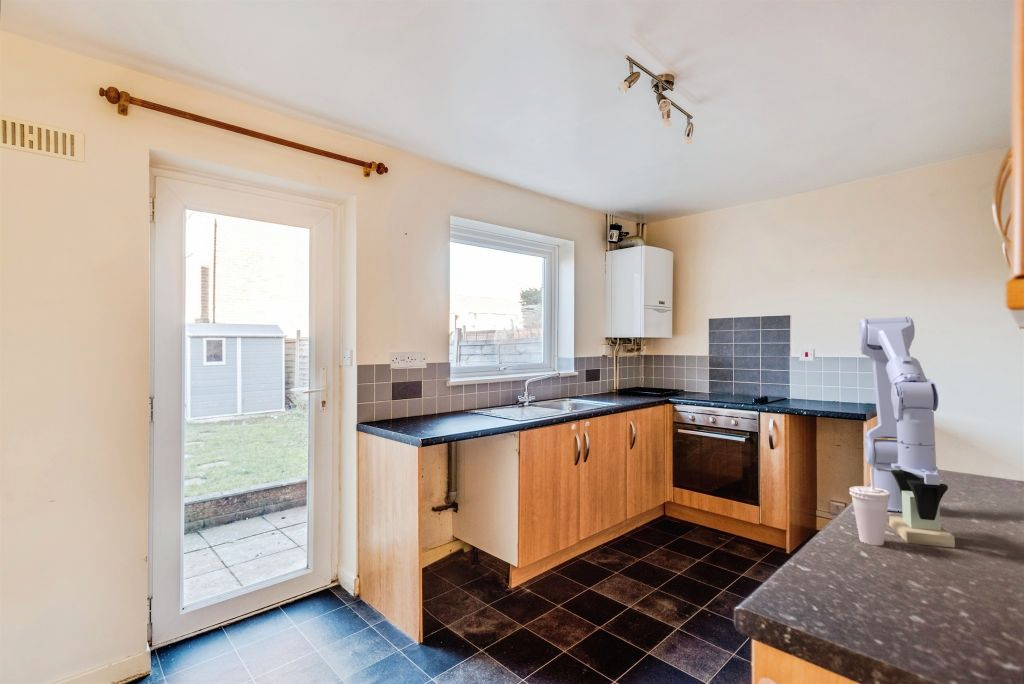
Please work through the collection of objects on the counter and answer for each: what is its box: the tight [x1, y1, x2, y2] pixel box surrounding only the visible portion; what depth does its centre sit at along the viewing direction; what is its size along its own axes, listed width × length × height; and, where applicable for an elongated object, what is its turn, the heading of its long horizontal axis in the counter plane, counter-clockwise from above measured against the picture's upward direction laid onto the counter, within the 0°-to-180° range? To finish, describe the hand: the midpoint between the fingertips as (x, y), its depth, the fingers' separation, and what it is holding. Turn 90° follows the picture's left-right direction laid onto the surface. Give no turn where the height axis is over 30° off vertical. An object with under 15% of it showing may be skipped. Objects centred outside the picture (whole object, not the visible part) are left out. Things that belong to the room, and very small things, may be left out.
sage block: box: [901, 491, 942, 531], centre depth 94 cm, size 4×4×6 cm
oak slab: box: [888, 515, 956, 548], centre depth 94 cm, size 10×7×2 cm
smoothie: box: [849, 466, 891, 546], centre depth 92 cm, size 6×6×14 cm
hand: (919, 513), depth 95 cm, fingers open, 7 cm apart
